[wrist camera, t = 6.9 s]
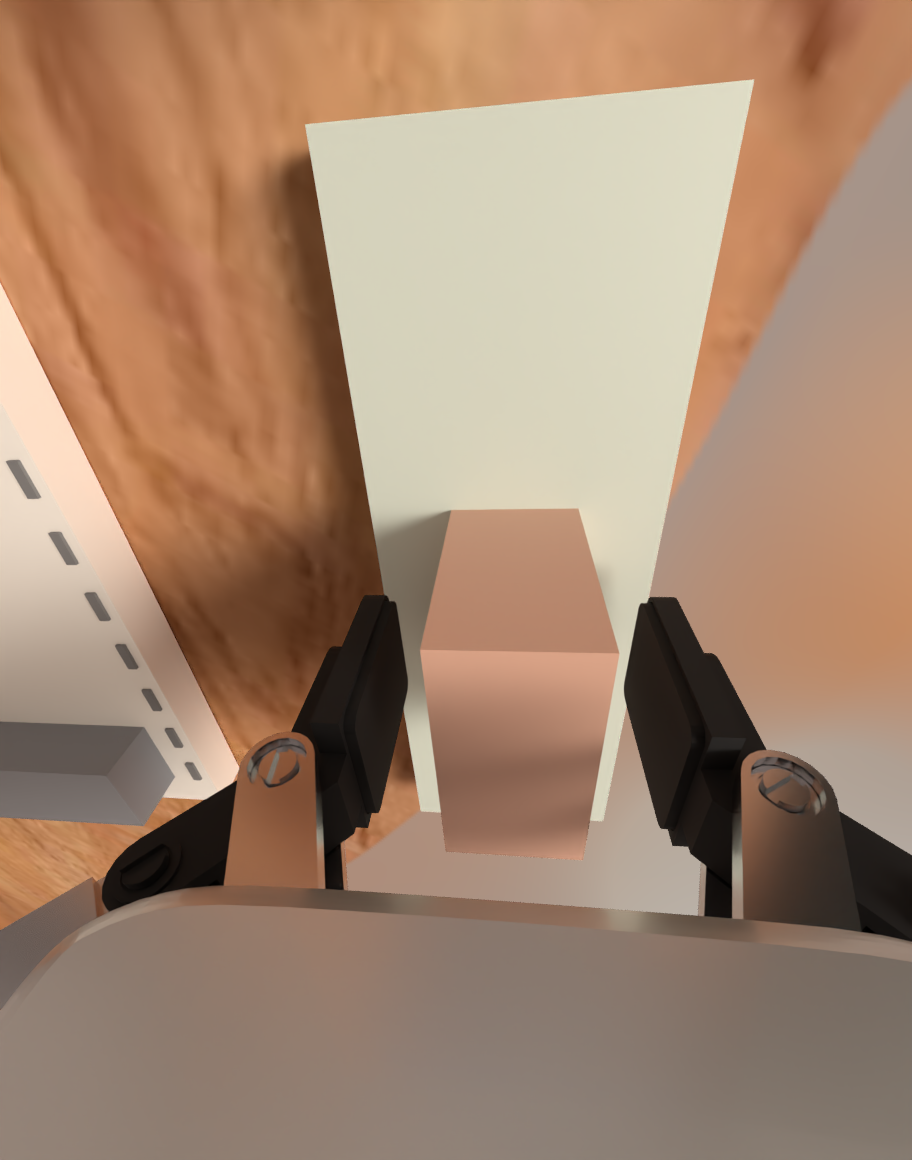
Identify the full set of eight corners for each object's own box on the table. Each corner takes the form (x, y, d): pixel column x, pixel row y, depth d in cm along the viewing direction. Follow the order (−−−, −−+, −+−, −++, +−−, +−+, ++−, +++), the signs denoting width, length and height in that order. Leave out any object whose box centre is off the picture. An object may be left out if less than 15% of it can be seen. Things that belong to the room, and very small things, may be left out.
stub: (332, 143, 9) (83, -22, 4) (718, 105, 8) (1088, -163, 3) (426, 777, 20) (396, 965, 15) (596, 785, 19) (631, 986, 14)
